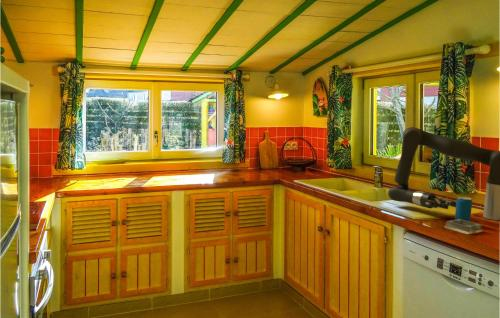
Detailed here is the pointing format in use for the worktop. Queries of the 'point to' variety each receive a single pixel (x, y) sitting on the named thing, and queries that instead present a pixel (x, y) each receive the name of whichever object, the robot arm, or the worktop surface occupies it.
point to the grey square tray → (463, 226)
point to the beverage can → (463, 208)
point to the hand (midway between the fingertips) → (453, 206)
